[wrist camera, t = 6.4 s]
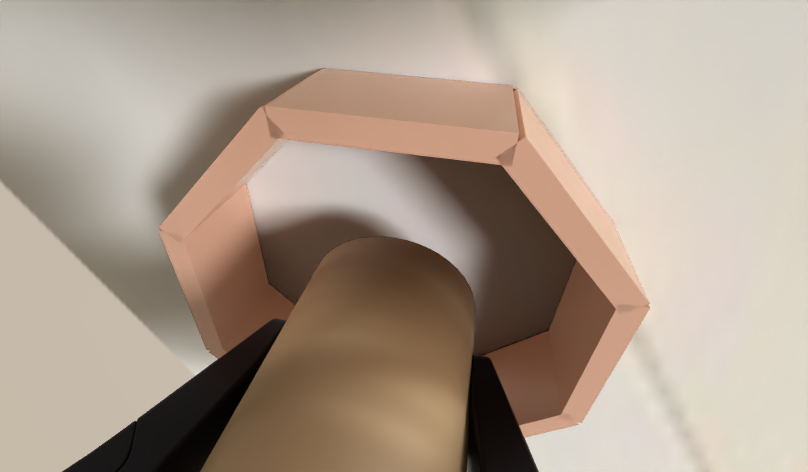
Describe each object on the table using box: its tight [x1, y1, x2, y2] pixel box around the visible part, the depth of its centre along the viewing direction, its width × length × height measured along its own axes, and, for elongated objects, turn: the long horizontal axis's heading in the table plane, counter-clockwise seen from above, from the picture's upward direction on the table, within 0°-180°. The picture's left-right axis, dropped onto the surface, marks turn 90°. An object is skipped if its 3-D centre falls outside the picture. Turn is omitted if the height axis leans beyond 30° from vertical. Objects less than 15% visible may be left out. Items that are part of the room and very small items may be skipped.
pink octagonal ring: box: [159, 68, 650, 437], centre depth 11 cm, size 11×11×3 cm
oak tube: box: [200, 237, 476, 472], centre depth 8 cm, size 5×5×7 cm
